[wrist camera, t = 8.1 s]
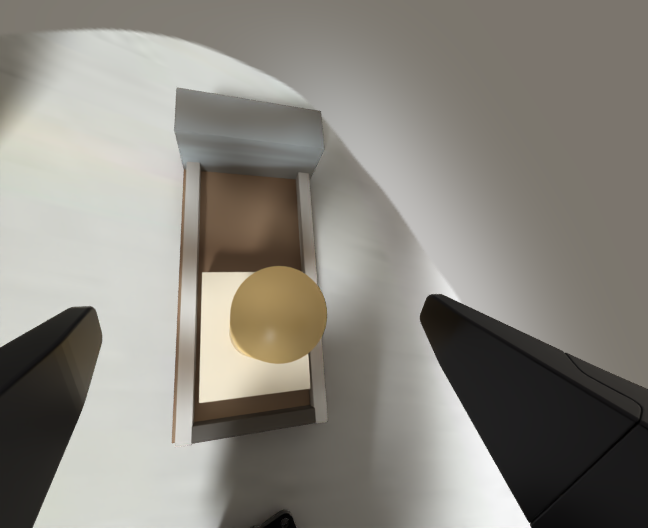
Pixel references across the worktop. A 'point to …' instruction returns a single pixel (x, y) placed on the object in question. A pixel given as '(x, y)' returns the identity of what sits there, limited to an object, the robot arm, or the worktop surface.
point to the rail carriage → (258, 332)
